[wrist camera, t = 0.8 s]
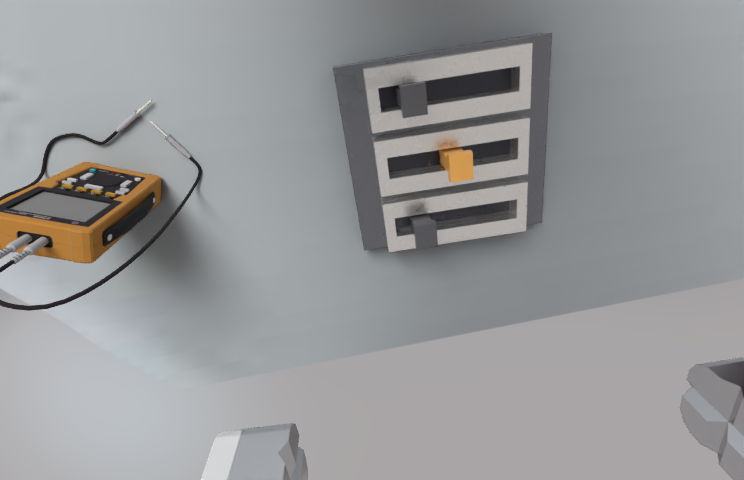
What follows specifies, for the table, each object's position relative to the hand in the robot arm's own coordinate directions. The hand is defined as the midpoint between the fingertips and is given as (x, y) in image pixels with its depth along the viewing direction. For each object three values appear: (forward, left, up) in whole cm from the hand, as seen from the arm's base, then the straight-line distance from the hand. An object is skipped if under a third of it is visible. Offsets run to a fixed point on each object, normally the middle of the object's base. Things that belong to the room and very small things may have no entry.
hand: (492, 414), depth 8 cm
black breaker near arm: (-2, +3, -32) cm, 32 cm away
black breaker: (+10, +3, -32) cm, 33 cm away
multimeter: (-1, -24, -34) cm, 42 cm away
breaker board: (+4, +6, -34) cm, 35 cm away
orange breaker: (+4, +6, -32) cm, 33 cm away
